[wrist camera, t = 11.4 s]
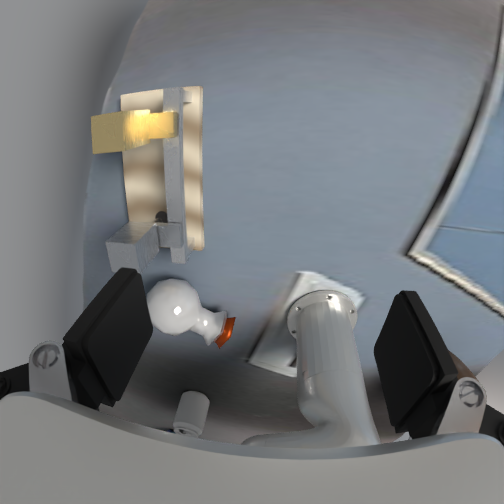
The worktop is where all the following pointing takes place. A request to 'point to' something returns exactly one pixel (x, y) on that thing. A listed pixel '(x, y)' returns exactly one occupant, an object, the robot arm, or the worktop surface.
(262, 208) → the worktop surface
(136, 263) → the trammel frame
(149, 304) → the potion bottle
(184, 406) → the can
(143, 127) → the block
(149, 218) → the hole plate
